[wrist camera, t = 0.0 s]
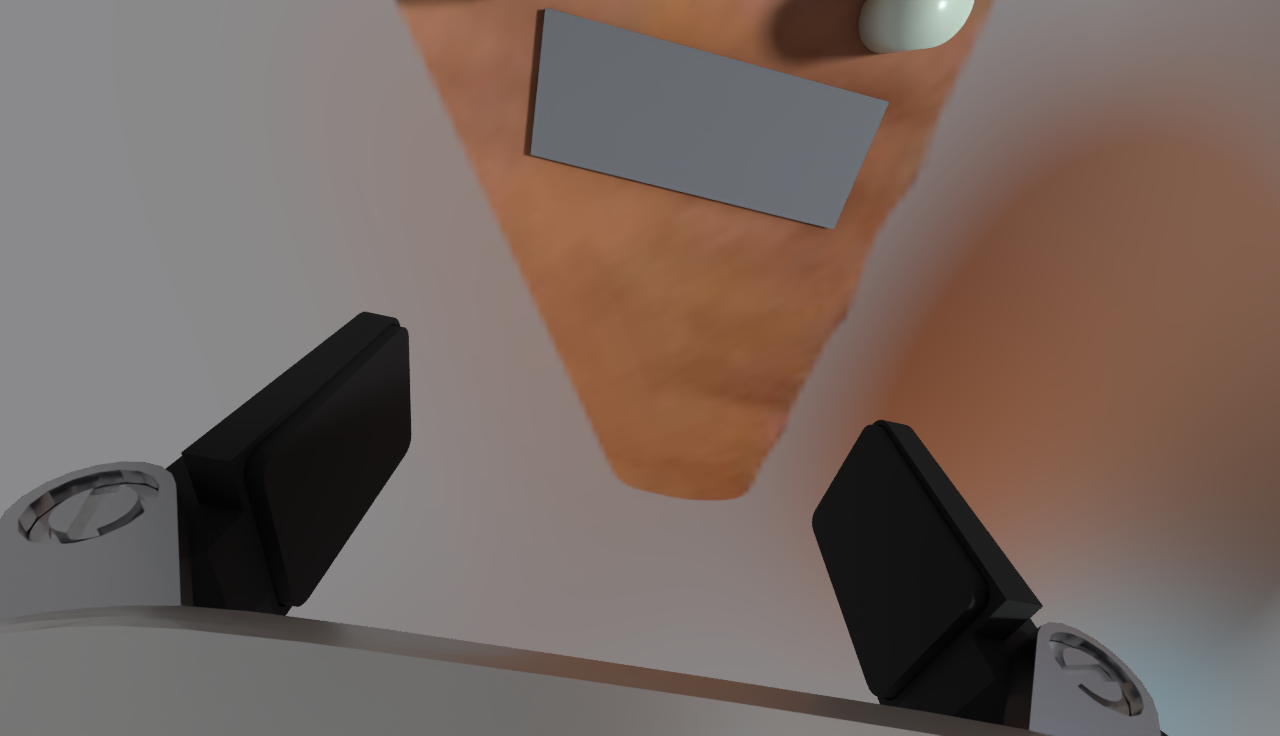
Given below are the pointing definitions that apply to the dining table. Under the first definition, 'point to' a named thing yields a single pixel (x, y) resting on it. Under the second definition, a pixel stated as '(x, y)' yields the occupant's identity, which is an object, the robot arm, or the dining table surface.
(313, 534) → the robot arm
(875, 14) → the mint green capsule
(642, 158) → the mat
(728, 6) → the dining table surface
